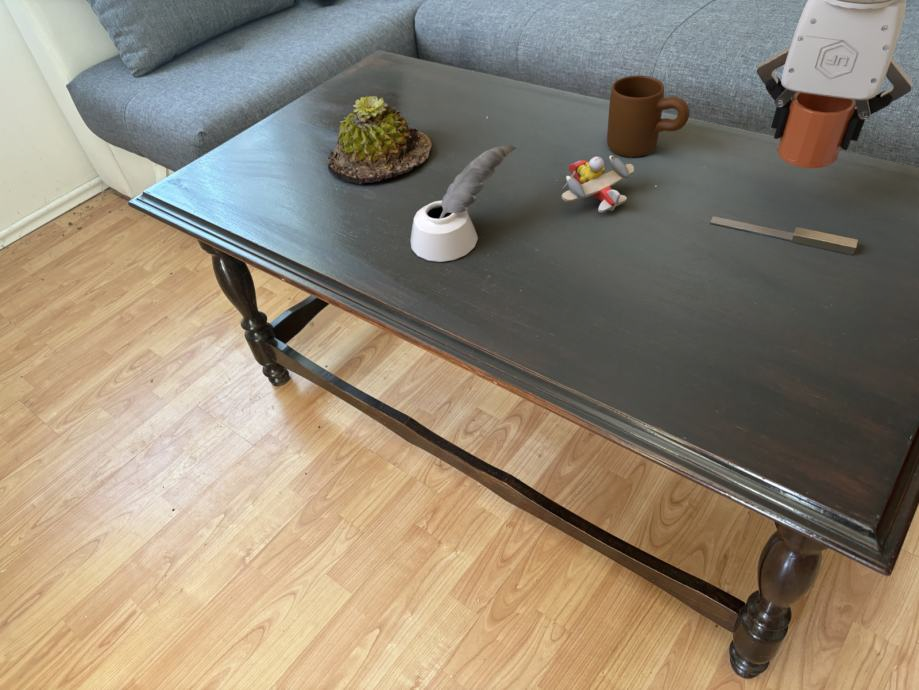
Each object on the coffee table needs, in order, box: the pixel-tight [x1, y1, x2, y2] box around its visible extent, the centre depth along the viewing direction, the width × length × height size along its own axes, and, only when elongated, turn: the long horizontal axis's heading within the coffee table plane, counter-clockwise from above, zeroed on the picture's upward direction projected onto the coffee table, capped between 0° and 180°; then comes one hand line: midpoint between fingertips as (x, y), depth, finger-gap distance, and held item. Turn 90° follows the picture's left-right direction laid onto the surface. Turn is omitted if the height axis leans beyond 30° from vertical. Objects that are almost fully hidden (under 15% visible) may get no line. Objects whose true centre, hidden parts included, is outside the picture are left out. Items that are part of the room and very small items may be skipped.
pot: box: [777, 92, 856, 169], centre depth 79 cm, size 7×7×7 cm
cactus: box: [327, 95, 433, 185], centre depth 102 cm, size 17×16×10 cm
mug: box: [606, 74, 690, 158], centre depth 96 cm, size 12×8×9 cm, turn 50°
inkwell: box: [410, 144, 517, 263], centre depth 87 cm, size 9×18×10 cm, turn 131°
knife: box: [709, 215, 859, 256], centre depth 83 cm, size 17×2×1 cm, turn 61°
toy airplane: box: [560, 155, 635, 214], centre depth 89 cm, size 9×9×6 cm
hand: (811, 137), depth 80 cm, fingers closed on pot, 6 cm apart
